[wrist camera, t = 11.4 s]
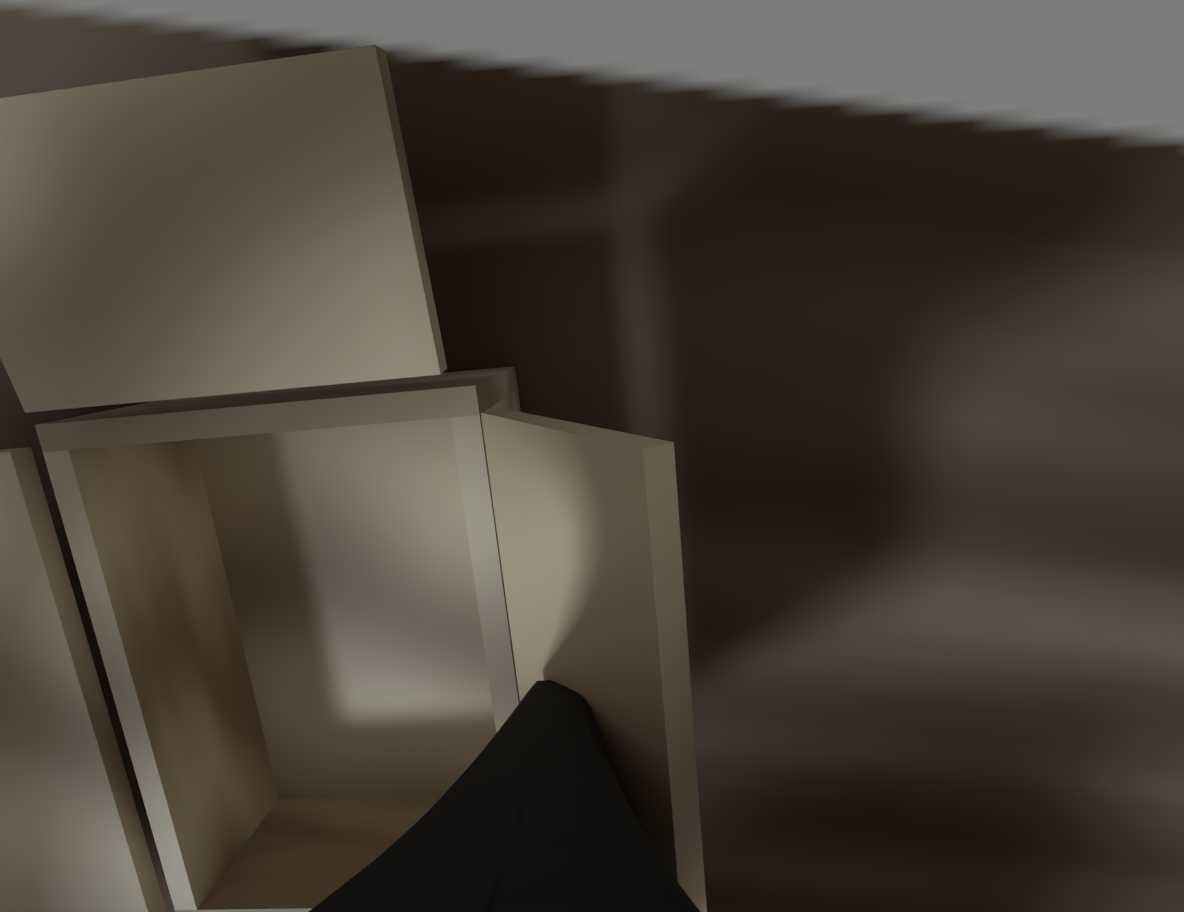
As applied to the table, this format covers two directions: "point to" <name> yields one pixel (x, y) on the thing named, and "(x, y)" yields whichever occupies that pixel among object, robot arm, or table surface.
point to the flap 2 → (604, 605)
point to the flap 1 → (211, 235)
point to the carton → (247, 640)
